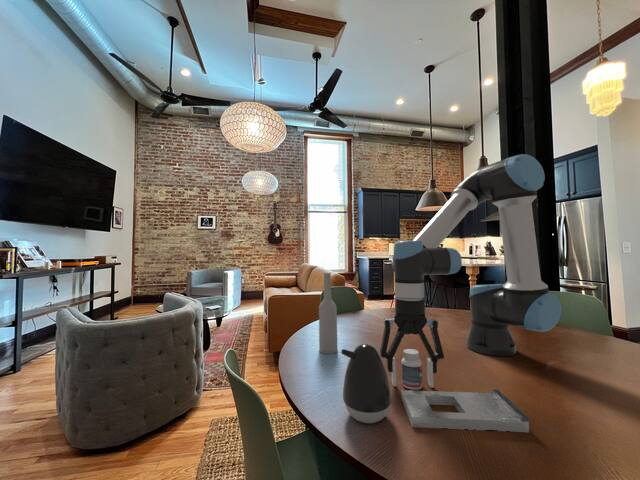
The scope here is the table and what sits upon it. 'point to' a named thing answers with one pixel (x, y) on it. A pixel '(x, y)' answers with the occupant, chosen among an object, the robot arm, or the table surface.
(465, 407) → the jig
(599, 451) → the table surface
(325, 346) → the bottle
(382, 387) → the pump dispenser
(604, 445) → the table surface
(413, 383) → the pill bottle
